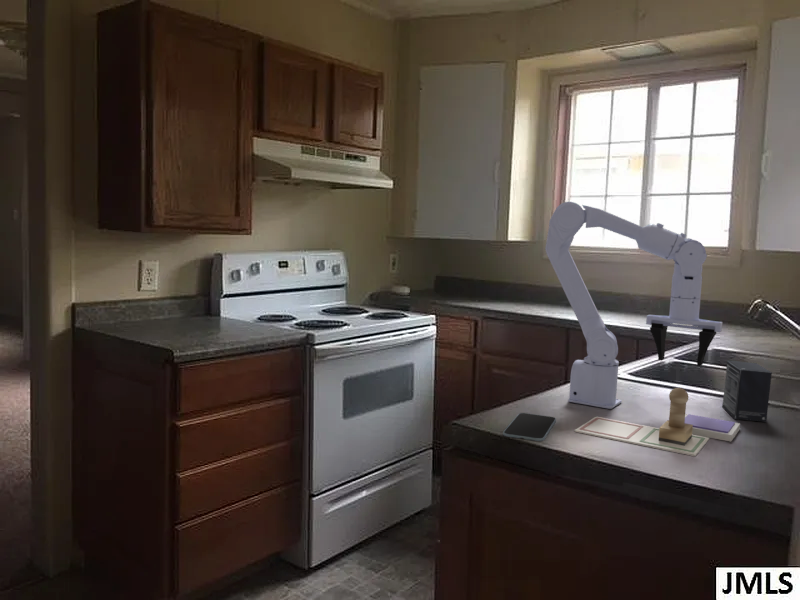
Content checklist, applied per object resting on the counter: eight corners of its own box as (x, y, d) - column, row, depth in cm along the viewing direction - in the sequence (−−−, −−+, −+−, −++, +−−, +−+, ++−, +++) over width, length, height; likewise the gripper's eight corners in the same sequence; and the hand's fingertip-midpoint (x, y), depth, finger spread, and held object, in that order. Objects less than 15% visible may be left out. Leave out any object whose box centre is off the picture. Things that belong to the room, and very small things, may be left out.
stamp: (658, 440, 123) (662, 389, 122) (666, 432, 128) (670, 383, 127) (684, 445, 120) (688, 393, 119) (691, 437, 125) (696, 387, 124)
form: (574, 431, 128) (574, 429, 127) (595, 417, 137) (596, 415, 137) (695, 456, 116) (695, 454, 116) (709, 439, 126) (709, 437, 126)
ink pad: (673, 430, 130) (674, 423, 130) (684, 419, 138) (685, 412, 138) (731, 441, 125) (731, 433, 125) (739, 429, 133) (740, 422, 132)
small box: (769, 423, 138) (774, 371, 137) (734, 420, 140) (738, 369, 138) (753, 409, 149) (757, 361, 147) (721, 406, 150) (725, 359, 149)
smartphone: (501, 433, 124) (519, 412, 137) (501, 438, 124) (519, 416, 138) (542, 439, 121) (557, 417, 135) (542, 444, 121) (556, 421, 135)
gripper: (644, 295, 143) (639, 360, 145) (720, 302, 135) (714, 370, 137) (653, 293, 149) (648, 355, 150) (726, 299, 141) (720, 365, 142)
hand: (680, 362), depth 144 cm, fingers open, 7 cm apart
